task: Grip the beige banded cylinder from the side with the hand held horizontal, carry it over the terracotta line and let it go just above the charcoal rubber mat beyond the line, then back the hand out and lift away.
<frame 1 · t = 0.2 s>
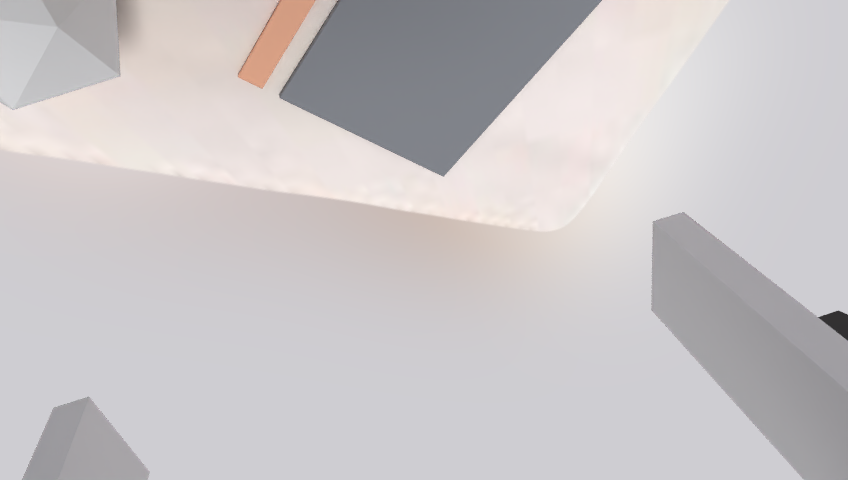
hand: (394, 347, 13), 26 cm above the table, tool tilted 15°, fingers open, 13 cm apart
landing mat: (456, 23, 36), on the table
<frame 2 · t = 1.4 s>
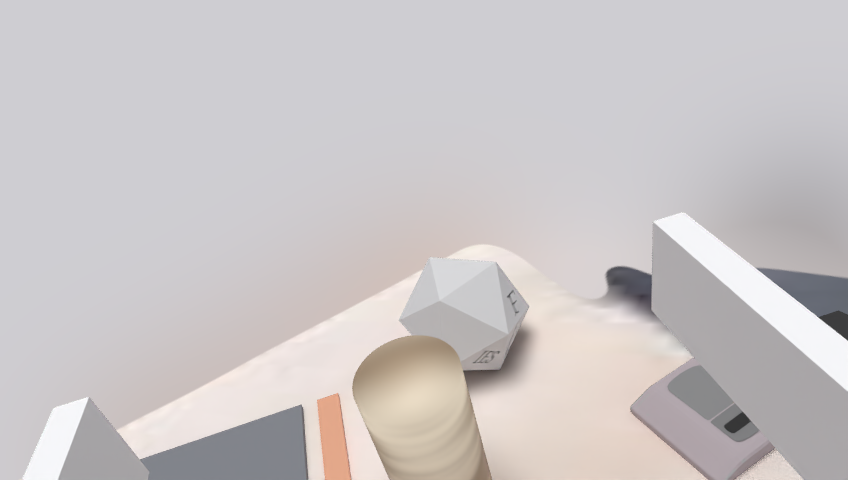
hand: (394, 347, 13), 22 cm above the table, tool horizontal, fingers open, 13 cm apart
die: (473, 352, 43), on the table
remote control: (741, 403, 36), on the table
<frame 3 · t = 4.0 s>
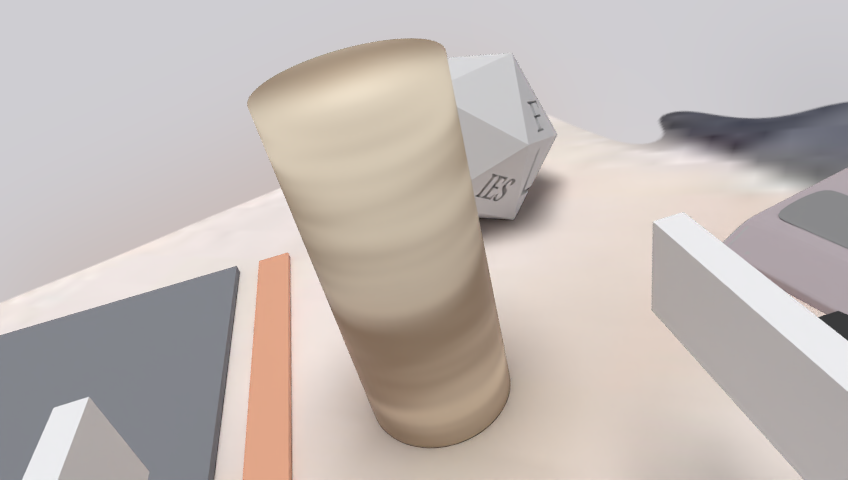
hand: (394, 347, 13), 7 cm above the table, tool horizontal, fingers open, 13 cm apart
throw line: (271, 398, 22), on the table
die: (478, 205, 32), on the table
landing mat: (44, 468, 22), on the table
beige banded cylinder: (440, 386, 21), on the table
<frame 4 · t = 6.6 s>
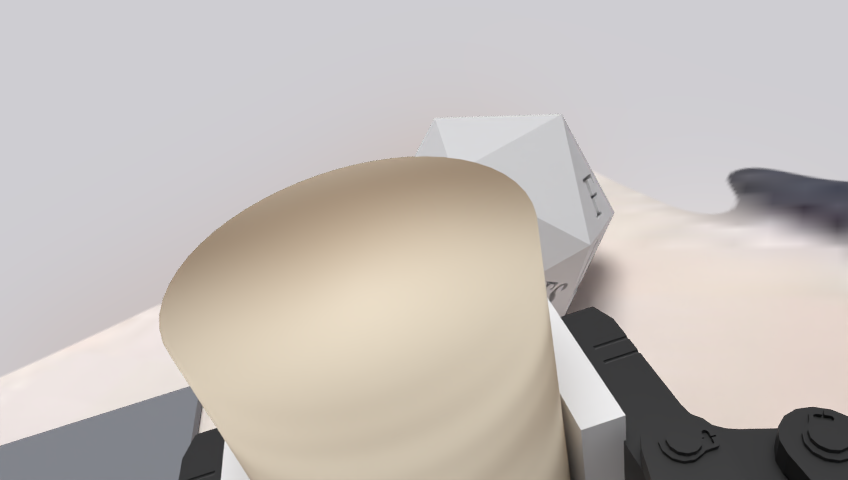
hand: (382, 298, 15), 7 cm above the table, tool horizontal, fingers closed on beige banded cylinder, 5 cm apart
die: (509, 297, 25), on the table
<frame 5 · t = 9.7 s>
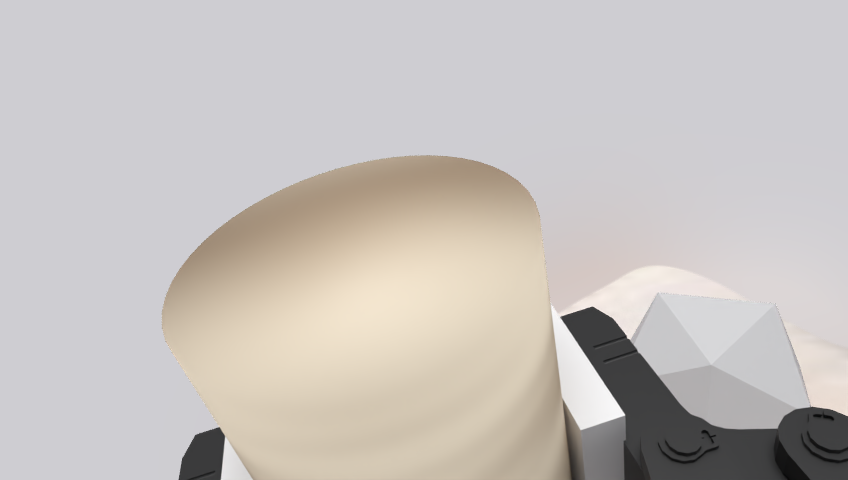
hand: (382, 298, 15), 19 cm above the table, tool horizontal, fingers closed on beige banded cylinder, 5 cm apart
die: (704, 425, 31), on the table
when the fingers open (8 cm above the table, at t = 12.8 s): beige banded cylinder stays where it is, resting on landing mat.
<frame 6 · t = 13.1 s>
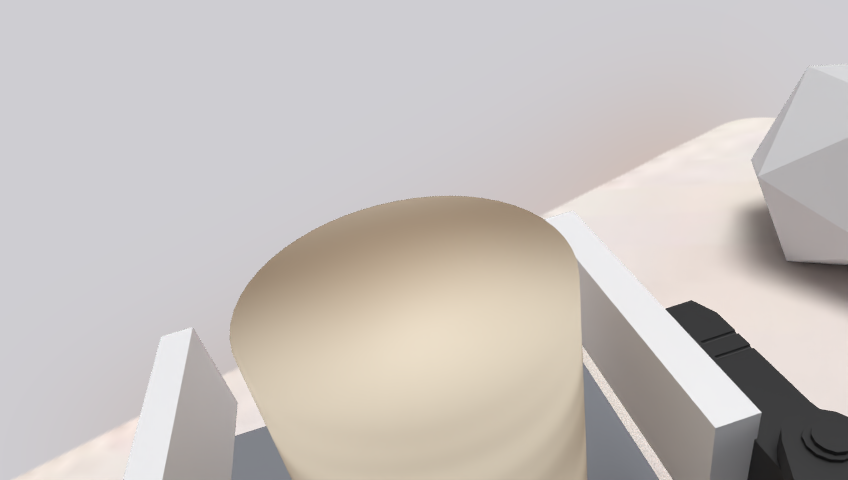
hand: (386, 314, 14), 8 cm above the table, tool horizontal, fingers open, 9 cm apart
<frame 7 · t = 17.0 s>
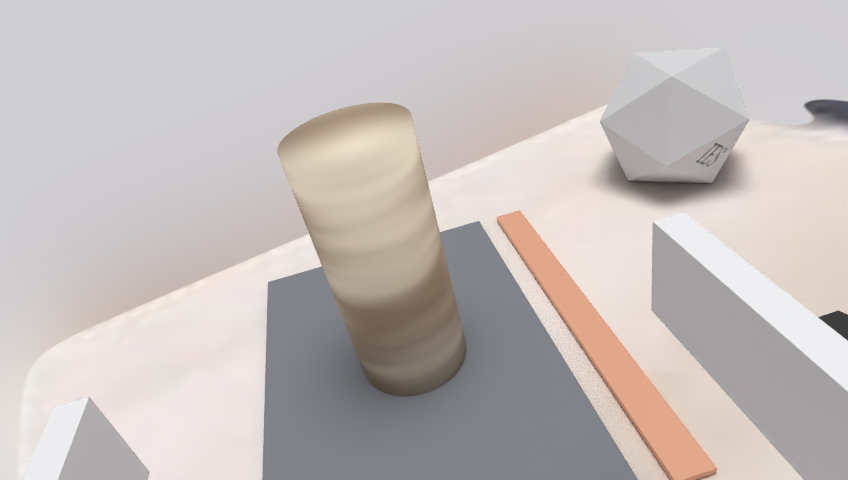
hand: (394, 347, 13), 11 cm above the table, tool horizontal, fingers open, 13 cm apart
throw line: (575, 310, 29), on the table
die: (670, 173, 38), on the table
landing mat: (405, 363, 28), on the table
beige banded cylinder: (414, 353, 28), resting on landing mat
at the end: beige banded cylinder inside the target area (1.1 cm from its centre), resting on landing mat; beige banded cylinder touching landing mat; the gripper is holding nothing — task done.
